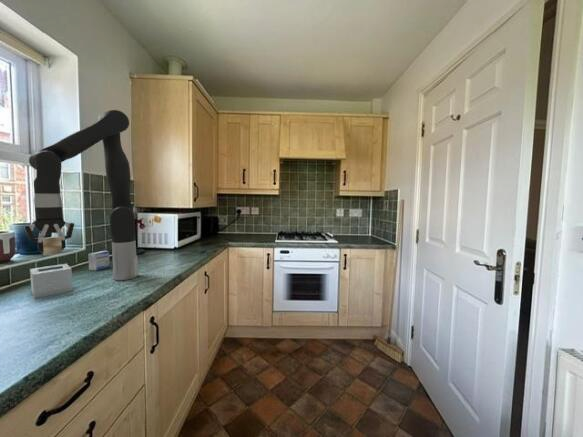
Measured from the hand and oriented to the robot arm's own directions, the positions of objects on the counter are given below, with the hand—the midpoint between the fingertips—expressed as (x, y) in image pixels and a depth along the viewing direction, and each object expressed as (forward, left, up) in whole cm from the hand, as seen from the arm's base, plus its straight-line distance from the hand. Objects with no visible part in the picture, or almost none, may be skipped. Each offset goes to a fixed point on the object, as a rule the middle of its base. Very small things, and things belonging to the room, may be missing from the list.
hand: (52, 250), depth 96 cm
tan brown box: (0, 0, -1) cm, 1 cm away
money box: (+4, -5, -17) cm, 18 cm away
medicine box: (0, -37, -17) cm, 41 cm away
